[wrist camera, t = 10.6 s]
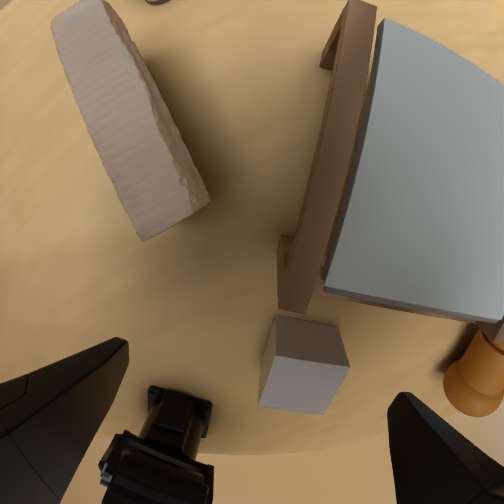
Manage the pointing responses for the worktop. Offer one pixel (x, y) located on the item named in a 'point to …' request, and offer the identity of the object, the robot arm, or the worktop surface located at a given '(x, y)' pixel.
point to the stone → (301, 366)
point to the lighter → (157, 2)
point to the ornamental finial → (477, 377)
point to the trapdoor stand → (336, 169)
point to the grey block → (127, 119)
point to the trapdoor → (424, 185)
